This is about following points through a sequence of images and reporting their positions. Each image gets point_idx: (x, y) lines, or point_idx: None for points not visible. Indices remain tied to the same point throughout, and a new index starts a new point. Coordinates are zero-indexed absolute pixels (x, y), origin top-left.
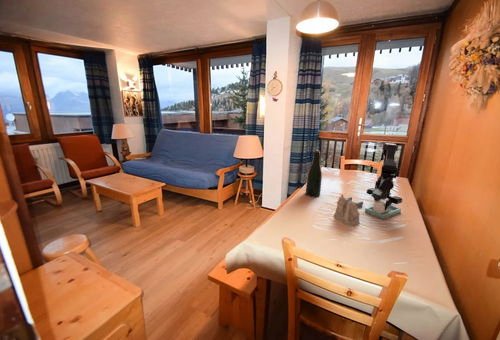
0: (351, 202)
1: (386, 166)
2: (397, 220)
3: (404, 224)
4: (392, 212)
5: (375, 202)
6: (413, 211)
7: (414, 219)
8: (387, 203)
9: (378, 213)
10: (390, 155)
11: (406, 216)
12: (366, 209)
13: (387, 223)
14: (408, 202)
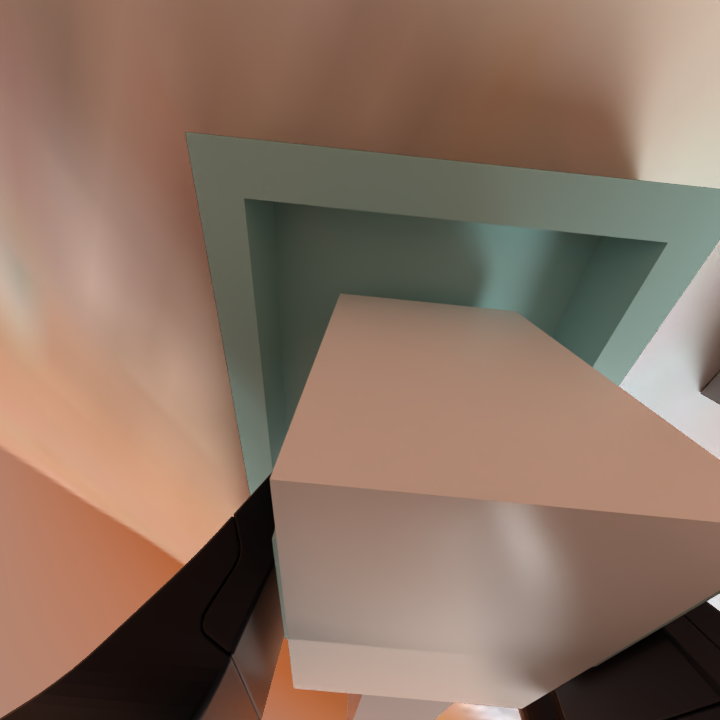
0: None
1: None
2: (141, 358)
3: (15, 320)
4: (249, 463)
5: (702, 486)
6: None
7: (128, 504)
8: (125, 685)
9: (329, 160)
10: None
11: (198, 507)
12: (675, 188)
13: (58, 46)
14: None
